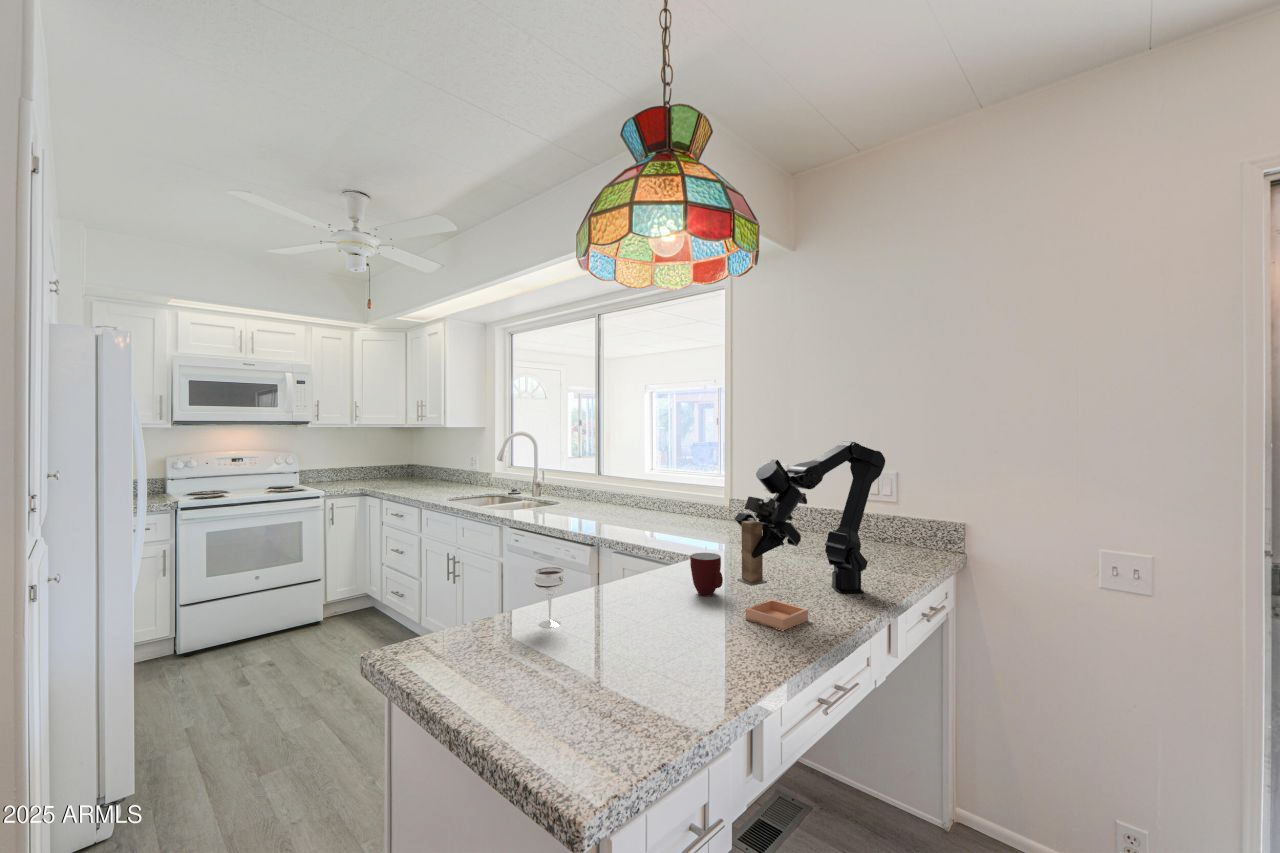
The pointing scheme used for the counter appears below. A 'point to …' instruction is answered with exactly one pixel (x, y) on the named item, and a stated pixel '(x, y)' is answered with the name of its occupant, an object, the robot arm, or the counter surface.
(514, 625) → the counter surface
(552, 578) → the wineglass
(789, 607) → the dish
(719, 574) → the mug
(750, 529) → the wood grain bar
